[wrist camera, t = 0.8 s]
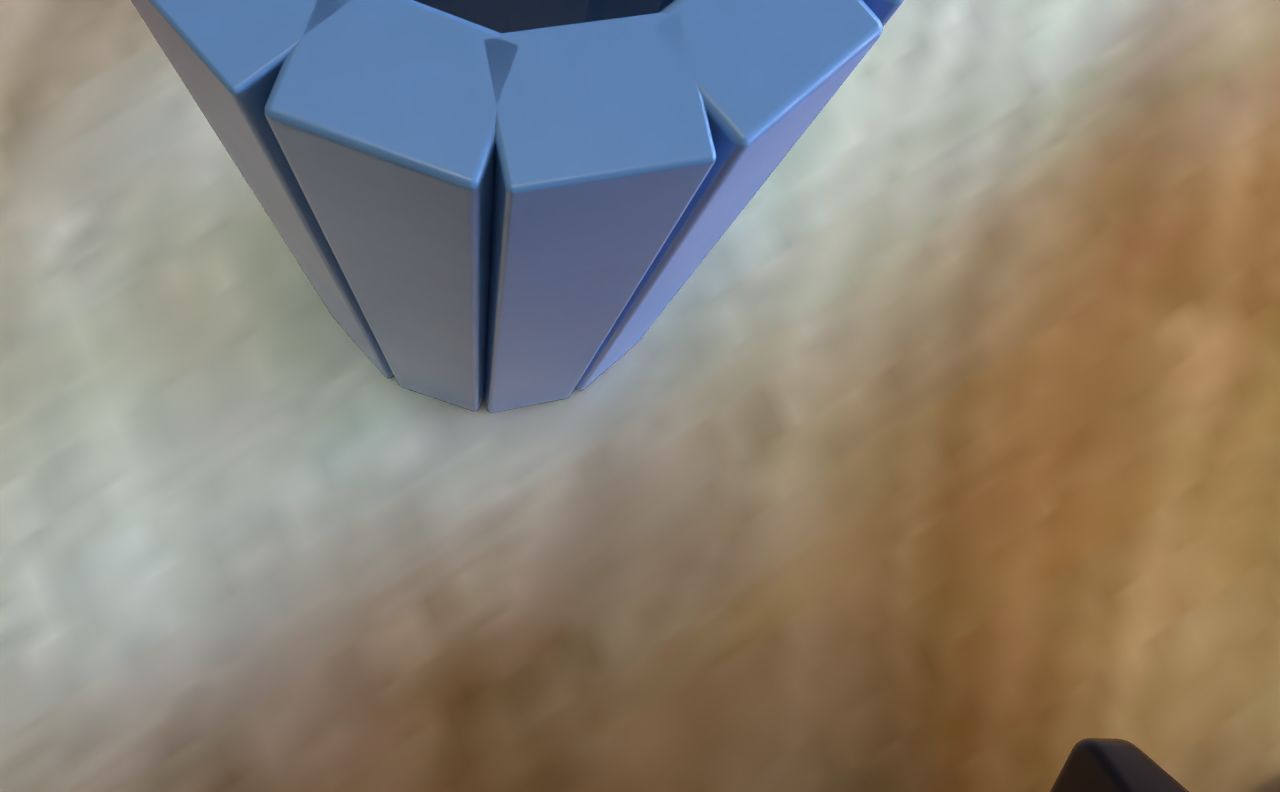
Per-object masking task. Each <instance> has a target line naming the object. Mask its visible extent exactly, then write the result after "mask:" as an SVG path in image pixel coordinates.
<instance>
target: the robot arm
mask: <svg viewBox="0 0 1280 792" xmlns="http://www.w3.org/2000/svg"><path fill="white" fill-rule="evenodd" d="M1050 792H1189V791H1187V790H1186V789H1185V788H1184V787H1183V786H1182V785H1181V784H1179V783H1178V782H1177V781H1176V780H1175V779H1174V778H1172V777H1171V776H1170V775H1169V774H1168V773H1167V772H1165V771H1164V770H1163V769H1162V768H1161V767H1160V766H1159V765H1157V764H1156V763H1155V762H1154V761H1153V760H1152V759H1150V758H1149V757H1148V756H1147V755H1146V754H1145V753H1143V752H1142V751H1141V750H1140V749H1139V748H1137V747H1136V746H1135V745H1133V744H1132V743H1130V742H1128V741H1125V740H1122V739H1100V738H1087V739H1083V740H1081V741H1079V742H1078V743H1077V744H1076V745H1075V746H1074V748H1073V749H1072V751H1071V753H1070V755H1069V757H1068V759H1067V761H1066V762H1065V764H1064V766H1063V768H1062V770H1061V772H1060V774H1059V776H1058V778H1057V780H1056V781H1055V783H1054V785H1053V787H1052V789H1051V791H1050Z"/></svg>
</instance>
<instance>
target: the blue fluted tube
mask: <svg viewBox="0 0 1280 792" xmlns="http://www.w3.org/2000/svg"><path fill="white" fill-rule="evenodd" d="M131 1H132V3H133V4H134V6H135V7H136V9H137V10H138V12H139V14H140V15H141V17H142V18H143V20H144V21H145V23H146V25H147V26H148V28H149V29H150V31H151V32H152V34H153V36H154V37H155V39H156V40H157V42H158V43H159V45H160V47H161V48H162V50H163V51H164V53H165V54H166V56H167V57H168V59H169V61H170V62H171V64H172V65H173V67H174V68H175V70H176V72H177V73H178V75H179V76H180V78H181V79H182V81H183V83H184V84H185V86H186V87H187V89H188V90H189V92H190V94H191V95H192V97H193V98H194V100H195V101H196V103H197V105H198V106H199V108H200V109H201V111H202V112H203V114H204V116H205V117H206V119H207V120H208V122H209V123H210V125H211V126H212V128H213V130H214V131H215V133H216V134H217V136H218V137H219V139H220V141H221V142H222V144H223V145H224V147H225V148H226V150H227V152H228V153H229V155H230V156H231V158H232V159H233V161H234V163H235V164H236V166H237V167H238V169H239V170H240V172H241V174H242V175H243V177H244V178H245V180H246V181H247V183H248V184H249V186H250V188H251V189H252V191H253V192H254V194H255V195H256V197H257V199H258V200H259V202H260V203H261V205H262V206H263V208H264V210H265V211H266V213H267V214H268V216H269V217H270V219H271V221H272V222H273V224H274V225H275V227H276V228H277V230H278V232H279V233H280V235H281V236H282V238H283V239H284V241H285V243H286V244H287V246H288V247H289V249H290V250H291V252H292V253H293V255H294V257H295V258H296V260H297V261H298V263H299V264H300V266H301V268H302V269H303V271H304V272H305V274H306V275H307V277H308V279H309V280H310V282H311V283H312V285H313V286H314V288H315V290H316V291H317V293H318V294H319V296H320V297H321V299H322V301H323V302H324V304H325V305H326V307H327V308H328V310H329V311H330V313H331V315H332V316H333V318H334V319H335V320H336V321H337V322H338V324H339V325H340V326H341V327H342V328H343V329H344V330H345V332H346V333H347V334H348V335H349V336H350V337H351V338H352V339H353V341H354V342H355V343H356V344H357V345H358V346H359V347H360V348H361V350H362V351H363V352H364V353H365V354H366V355H367V356H368V357H369V359H370V360H371V361H372V362H373V363H374V364H375V365H376V367H377V368H378V369H379V370H380V371H381V372H382V373H383V374H384V376H385V377H386V378H390V377H392V376H393V375H394V376H395V378H396V380H397V382H398V384H399V385H400V386H401V387H404V388H406V389H409V390H412V391H415V392H418V393H421V394H424V395H427V396H430V397H433V398H436V399H439V400H442V401H445V402H448V403H451V404H454V405H457V406H460V407H463V408H466V409H469V410H472V411H477V410H478V409H479V407H480V404H481V401H482V399H483V396H484V393H485V398H486V403H487V408H488V411H489V412H490V413H493V412H498V411H503V410H509V409H514V408H519V407H524V406H529V405H535V404H540V403H545V402H550V401H555V400H561V399H566V398H568V397H569V396H570V395H571V393H572V391H573V390H574V388H576V389H577V390H579V391H581V390H584V389H585V388H586V387H587V386H588V385H589V384H591V383H592V382H593V381H594V380H595V379H596V378H597V377H599V376H600V375H601V374H602V373H603V372H604V371H605V370H607V369H608V368H609V367H610V366H611V365H612V364H614V363H615V362H616V361H617V360H618V359H619V358H620V357H622V356H623V355H624V354H625V353H626V352H627V351H628V350H630V349H631V348H632V347H633V346H634V345H635V344H636V343H637V342H638V341H639V340H640V339H641V337H642V336H643V335H644V334H645V332H646V331H647V330H648V328H649V327H650V326H651V325H652V323H653V322H654V321H655V320H656V318H657V317H658V316H659V315H660V313H661V312H662V311H663V310H664V308H665V307H666V306H667V304H668V303H669V302H670V301H671V299H672V298H673V297H674V296H675V294H676V293H677V292H678V291H679V289H680V288H681V287H682V286H683V284H684V283H685V282H686V280H687V279H688V278H689V277H690V275H691V274H692V273H693V272H694V270H695V269H696V268H697V267H698V265H699V264H700V263H701V262H702V260H703V259H704V258H705V257H706V255H707V254H708V253H709V251H710V250H711V249H712V248H713V246H714V245H715V244H716V243H717V241H718V240H719V239H720V238H721V236H722V235H723V234H724V233H725V231H726V230H727V229H728V227H729V226H730V225H731V224H732V222H733V221H734V220H735V219H736V217H737V216H738V215H739V214H740V212H741V211H742V210H743V209H744V207H745V206H746V205H747V203H748V202H749V201H750V200H751V198H752V197H753V196H754V195H755V193H756V192H757V191H758V190H759V188H760V187H761V186H762V185H763V183H764V182H765V181H766V180H767V178H768V177H769V176H770V174H771V173H772V172H773V171H774V169H775V168H776V167H777V166H778V164H779V163H780V162H781V161H782V159H783V158H784V157H785V156H786V154H787V153H788V152H789V150H790V149H791V148H792V147H793V145H794V144H795V143H796V142H797V140H798V139H799V138H800V137H801V135H802V134H803V133H804V132H805V130H806V129H807V128H808V126H809V125H810V124H811V123H812V121H813V120H814V119H815V118H816V116H817V115H818V114H819V113H820V111H821V110H822V109H823V108H824V106H825V105H826V104H827V102H828V101H829V100H830V99H831V97H832V96H833V95H834V94H835V92H836V91H837V90H838V89H839V87H840V86H841V85H842V84H843V82H844V81H845V80H846V79H847V77H848V76H849V75H850V73H851V72H852V71H853V70H854V68H855V67H856V66H857V65H858V63H859V62H860V61H861V60H862V58H863V57H864V56H865V55H866V53H867V52H868V51H869V49H870V48H871V47H872V46H873V44H874V43H875V42H876V41H877V39H878V38H879V37H880V34H881V32H882V30H883V27H884V25H885V24H886V23H887V21H888V20H889V19H890V18H891V16H892V15H893V14H894V12H895V11H896V10H897V9H898V7H899V6H900V5H901V4H902V2H903V1H904V0H131Z"/></svg>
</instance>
